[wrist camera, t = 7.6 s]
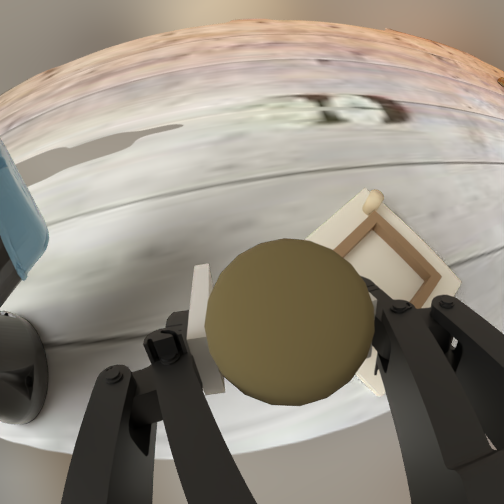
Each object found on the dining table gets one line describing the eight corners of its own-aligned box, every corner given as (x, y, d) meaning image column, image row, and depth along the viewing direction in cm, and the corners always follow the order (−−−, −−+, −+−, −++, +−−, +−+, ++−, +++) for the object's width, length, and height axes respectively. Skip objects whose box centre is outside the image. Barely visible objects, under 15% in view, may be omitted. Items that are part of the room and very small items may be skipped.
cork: (219, 308, 18) (181, 213, 8) (313, 302, 18) (377, 204, 9) (224, 403, 16) (183, 433, 6) (323, 393, 16) (419, 400, 6)
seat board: (262, 277, 31) (264, 262, 27) (362, 193, 36) (372, 172, 32) (377, 396, 25) (394, 396, 21) (456, 285, 30) (475, 273, 27)
